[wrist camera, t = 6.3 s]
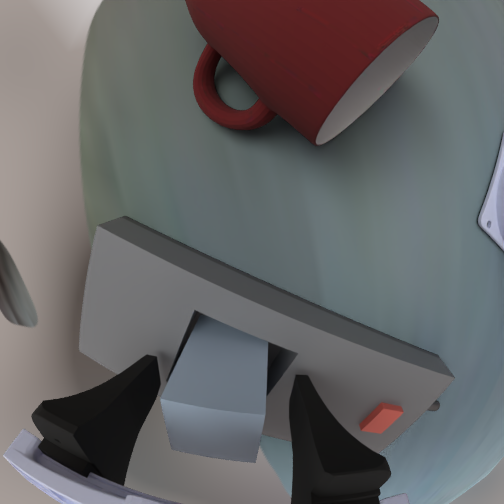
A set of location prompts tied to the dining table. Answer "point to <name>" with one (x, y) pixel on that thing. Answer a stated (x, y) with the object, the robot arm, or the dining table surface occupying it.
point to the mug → (307, 57)
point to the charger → (217, 393)
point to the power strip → (254, 323)
